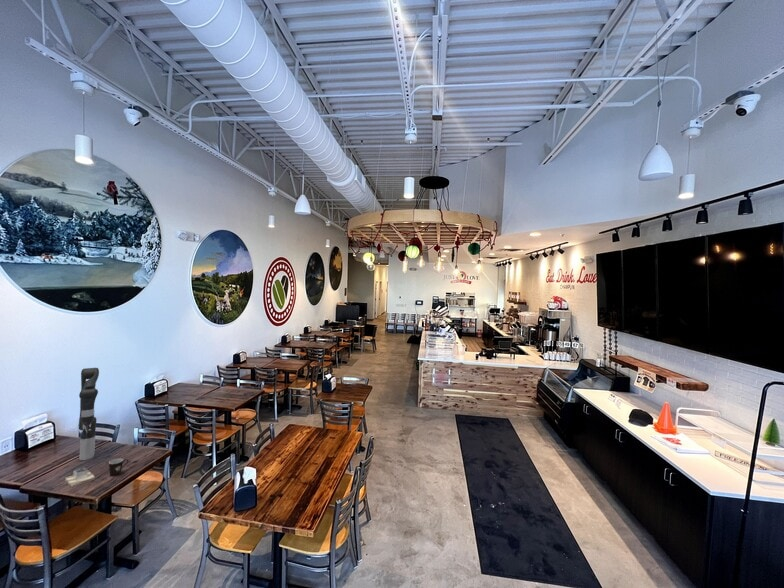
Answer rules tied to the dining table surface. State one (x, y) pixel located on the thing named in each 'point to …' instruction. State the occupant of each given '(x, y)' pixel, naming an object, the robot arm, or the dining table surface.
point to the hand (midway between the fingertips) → (86, 435)
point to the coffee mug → (116, 466)
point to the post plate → (73, 482)
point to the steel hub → (80, 474)
